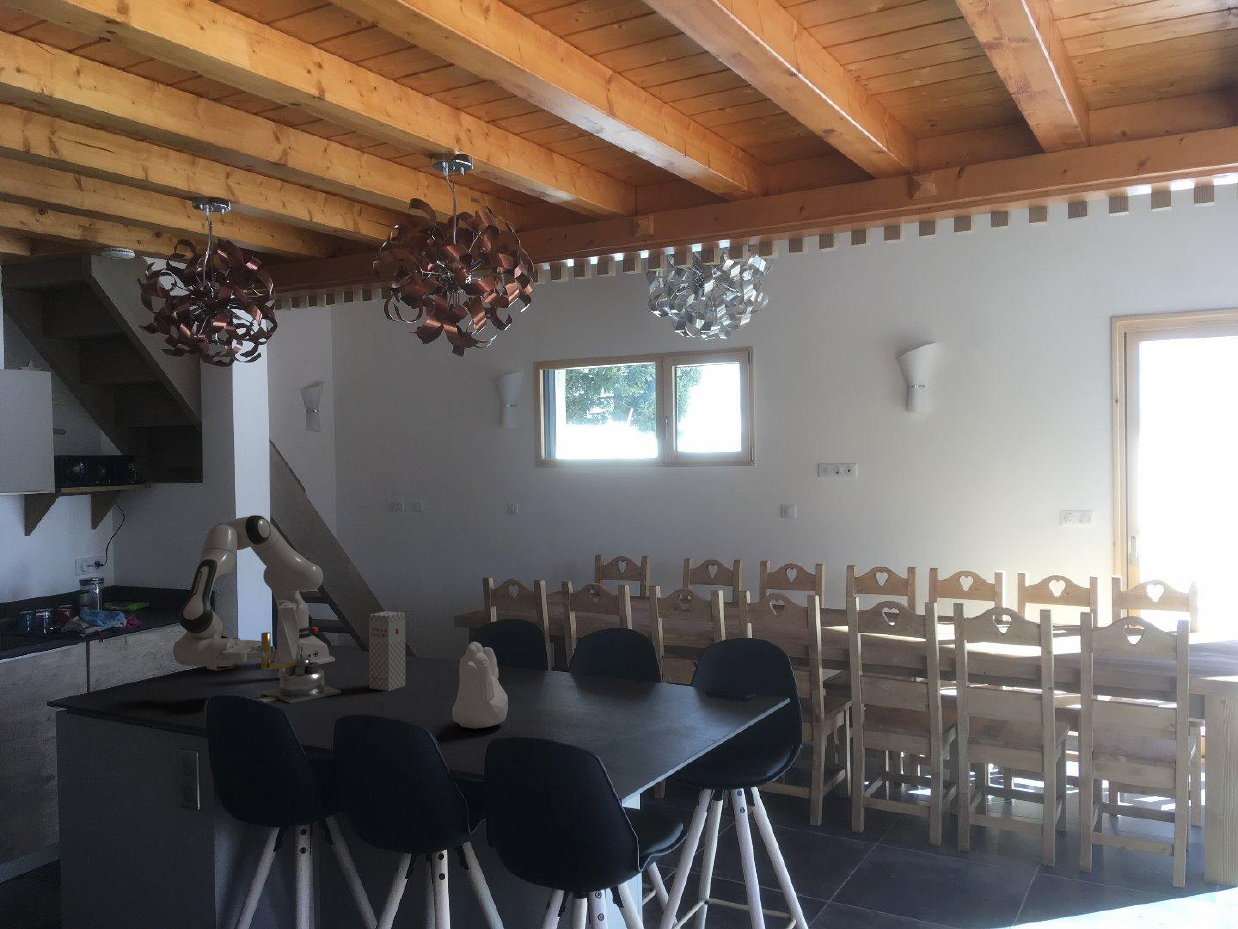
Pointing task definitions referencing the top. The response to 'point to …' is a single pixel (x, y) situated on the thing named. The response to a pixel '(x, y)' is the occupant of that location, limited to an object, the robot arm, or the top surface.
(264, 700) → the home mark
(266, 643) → the crank handle
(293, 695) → the metal pedestal base
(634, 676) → the top surface
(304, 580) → the robot arm
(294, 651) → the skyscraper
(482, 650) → the white figurine
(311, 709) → the top surface
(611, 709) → the top surface
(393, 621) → the box
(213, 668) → the medicine bottle
